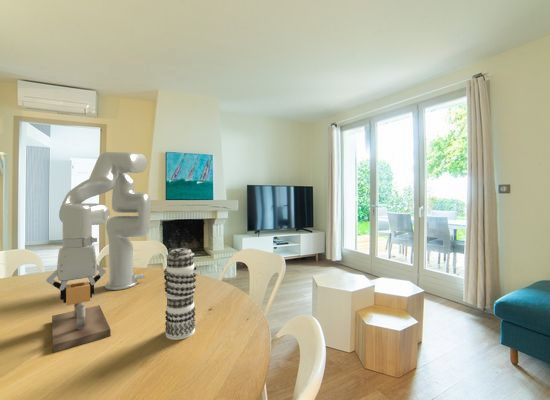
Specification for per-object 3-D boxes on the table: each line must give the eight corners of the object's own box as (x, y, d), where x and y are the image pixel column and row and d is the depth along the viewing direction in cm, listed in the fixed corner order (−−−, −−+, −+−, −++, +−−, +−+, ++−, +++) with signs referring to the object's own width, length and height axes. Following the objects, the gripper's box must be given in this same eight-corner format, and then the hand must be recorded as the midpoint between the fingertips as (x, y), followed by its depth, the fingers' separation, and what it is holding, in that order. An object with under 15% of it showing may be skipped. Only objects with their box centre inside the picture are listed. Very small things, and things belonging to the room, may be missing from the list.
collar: (88, 295, 90) (87, 280, 90) (90, 300, 86) (90, 285, 86) (65, 299, 86) (65, 284, 86) (66, 305, 82) (66, 289, 82)
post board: (99, 310, 95) (99, 284, 95) (110, 335, 78) (110, 303, 78) (51, 321, 87) (51, 292, 87) (52, 352, 70) (52, 316, 70)
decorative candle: (171, 324, 85) (171, 246, 85) (200, 325, 85) (200, 246, 85) (158, 340, 76) (157, 252, 76) (190, 340, 76) (190, 253, 76)
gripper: (106, 239, 94) (107, 290, 94) (42, 244, 83) (42, 302, 83) (110, 241, 89) (110, 296, 89) (41, 247, 77) (41, 310, 78)
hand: (77, 298), depth 86 cm, fingers closed on collar, 5 cm apart
